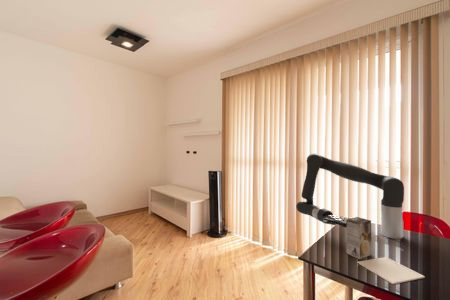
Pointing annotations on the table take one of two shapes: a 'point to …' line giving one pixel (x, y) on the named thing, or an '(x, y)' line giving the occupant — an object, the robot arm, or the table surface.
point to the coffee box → (358, 237)
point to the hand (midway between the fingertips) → (346, 225)
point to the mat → (390, 270)
